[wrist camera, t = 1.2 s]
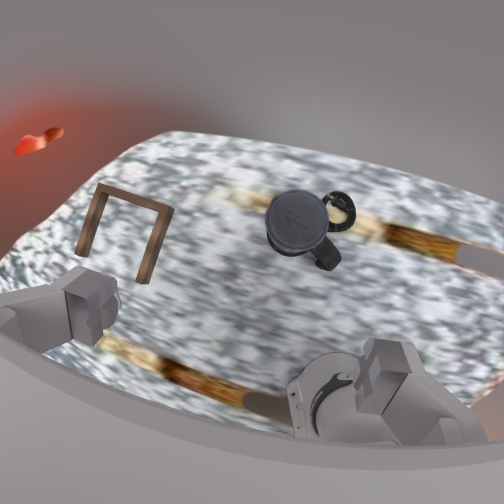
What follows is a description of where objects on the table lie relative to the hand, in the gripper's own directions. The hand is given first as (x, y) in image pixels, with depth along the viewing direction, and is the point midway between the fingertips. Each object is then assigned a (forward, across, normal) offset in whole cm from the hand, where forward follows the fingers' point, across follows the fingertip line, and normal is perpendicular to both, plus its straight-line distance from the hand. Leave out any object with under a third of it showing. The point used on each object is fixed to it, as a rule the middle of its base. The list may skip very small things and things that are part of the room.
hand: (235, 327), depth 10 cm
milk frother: (+51, +6, -10) cm, 53 cm away
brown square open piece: (+46, -30, -20) cm, 58 cm away
